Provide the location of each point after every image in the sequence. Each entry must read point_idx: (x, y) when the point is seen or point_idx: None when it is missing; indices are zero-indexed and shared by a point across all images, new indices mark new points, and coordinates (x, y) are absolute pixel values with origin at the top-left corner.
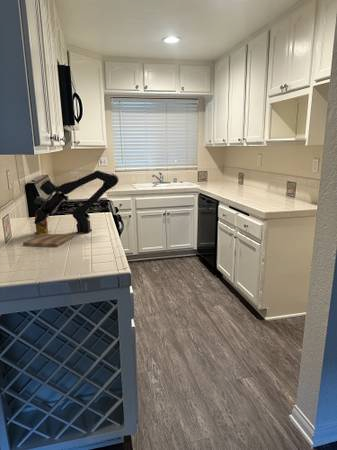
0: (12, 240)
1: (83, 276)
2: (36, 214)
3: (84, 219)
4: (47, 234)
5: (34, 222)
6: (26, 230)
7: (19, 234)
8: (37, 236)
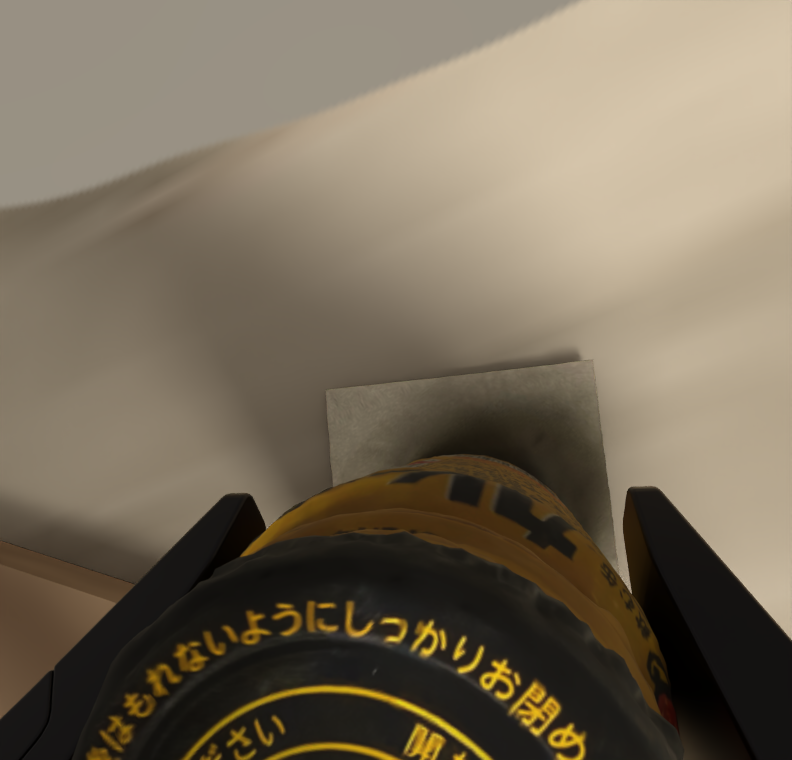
0: (104, 188)
1: None
2: (101, 710)
3: None
4: None
5: (214, 514)
6: (781, 104)
7: (460, 117)
8: (56, 614)
